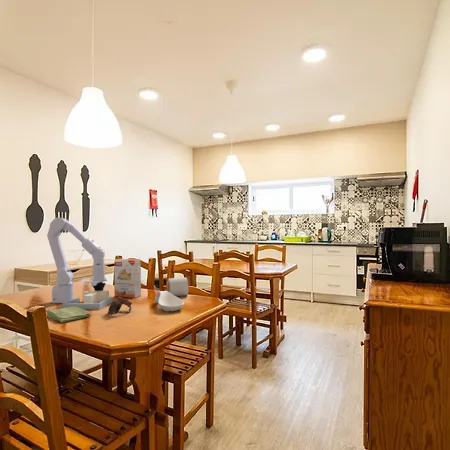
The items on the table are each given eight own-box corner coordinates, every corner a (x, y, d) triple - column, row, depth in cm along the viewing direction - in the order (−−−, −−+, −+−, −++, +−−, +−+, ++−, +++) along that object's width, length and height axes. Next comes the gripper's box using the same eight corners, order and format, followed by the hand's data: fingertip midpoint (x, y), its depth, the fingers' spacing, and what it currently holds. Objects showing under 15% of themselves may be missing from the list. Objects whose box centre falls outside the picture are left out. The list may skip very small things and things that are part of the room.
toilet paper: (170, 298, 171) (170, 279, 172) (167, 294, 181) (167, 277, 181) (188, 296, 175) (188, 278, 175) (184, 293, 184) (184, 276, 184)
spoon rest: (188, 311, 145) (188, 295, 145) (163, 315, 139) (163, 298, 139) (169, 301, 165) (169, 287, 165) (147, 304, 159) (146, 290, 159)
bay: (61, 309, 150) (61, 304, 150) (77, 301, 166) (77, 296, 166) (99, 309, 150) (99, 303, 150) (112, 301, 165) (112, 296, 165)
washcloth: (61, 325, 127) (61, 316, 127) (44, 317, 138) (44, 309, 138) (93, 317, 136) (93, 310, 136) (75, 311, 148) (75, 304, 148)
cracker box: (114, 296, 177) (113, 259, 178) (121, 294, 183) (121, 258, 183) (134, 298, 172) (134, 260, 172) (141, 296, 178) (141, 258, 178)
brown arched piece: (108, 312, 146) (117, 295, 149) (127, 320, 146) (135, 304, 149) (102, 311, 135) (112, 293, 137) (122, 321, 135) (131, 303, 137)
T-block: (75, 305, 157) (75, 295, 157) (86, 300, 169) (86, 290, 169) (99, 305, 157) (99, 295, 157) (109, 300, 169) (108, 290, 169)
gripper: (100, 273, 163) (100, 299, 163) (111, 269, 178) (111, 294, 178) (87, 273, 163) (87, 299, 163) (98, 269, 178) (99, 294, 178)
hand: (99, 296), depth 170 cm, fingers closed
